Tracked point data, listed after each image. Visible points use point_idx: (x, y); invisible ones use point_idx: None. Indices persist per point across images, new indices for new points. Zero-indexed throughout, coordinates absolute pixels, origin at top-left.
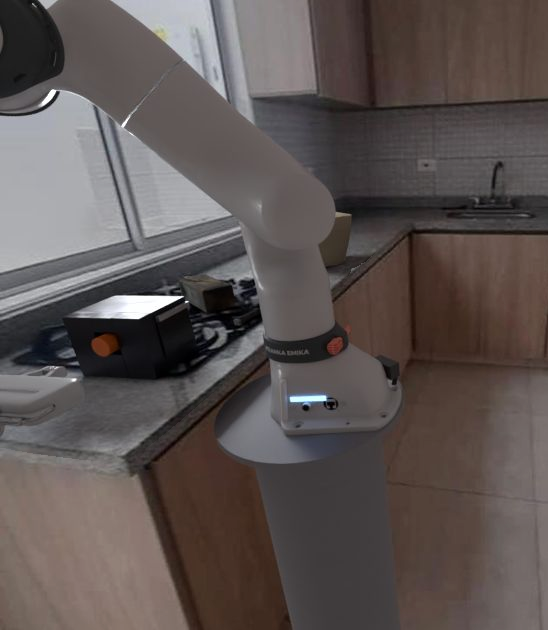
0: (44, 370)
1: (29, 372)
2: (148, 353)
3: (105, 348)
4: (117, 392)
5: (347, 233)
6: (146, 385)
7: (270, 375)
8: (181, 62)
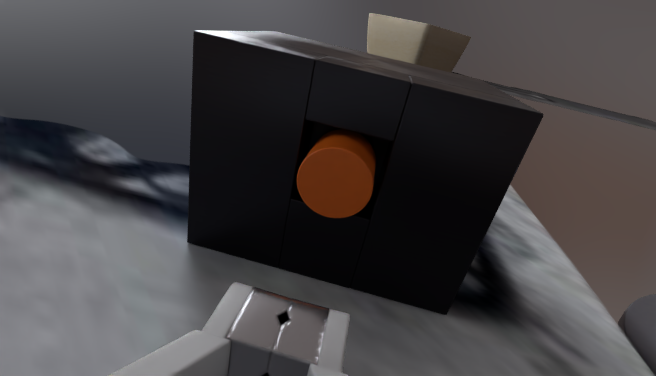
0: (255, 347)
1: (144, 361)
2: (480, 239)
3: (353, 192)
4: (375, 368)
5: (456, 60)
6: (442, 342)
7: (641, 327)
8: None
